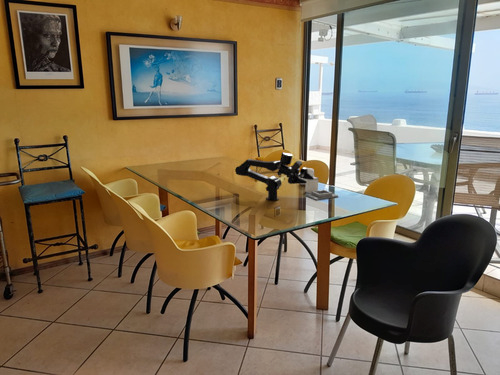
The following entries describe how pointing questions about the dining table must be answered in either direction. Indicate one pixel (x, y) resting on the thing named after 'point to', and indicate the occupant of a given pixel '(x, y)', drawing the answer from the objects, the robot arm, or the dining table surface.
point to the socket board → (321, 195)
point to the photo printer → (310, 171)
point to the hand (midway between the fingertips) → (309, 180)
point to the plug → (311, 185)
